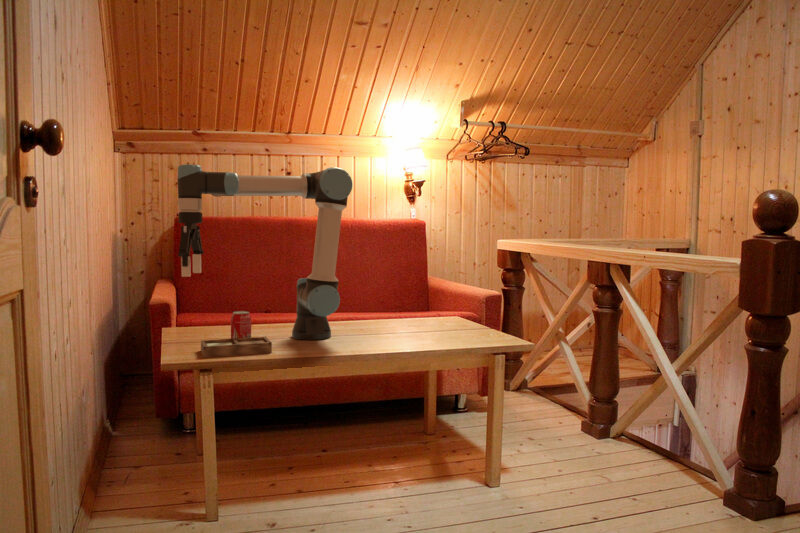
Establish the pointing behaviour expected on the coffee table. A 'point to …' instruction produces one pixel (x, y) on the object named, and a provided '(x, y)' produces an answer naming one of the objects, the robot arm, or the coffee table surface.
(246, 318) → the soda can
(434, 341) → the coffee table surface
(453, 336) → the coffee table surface
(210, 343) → the wooden tray
